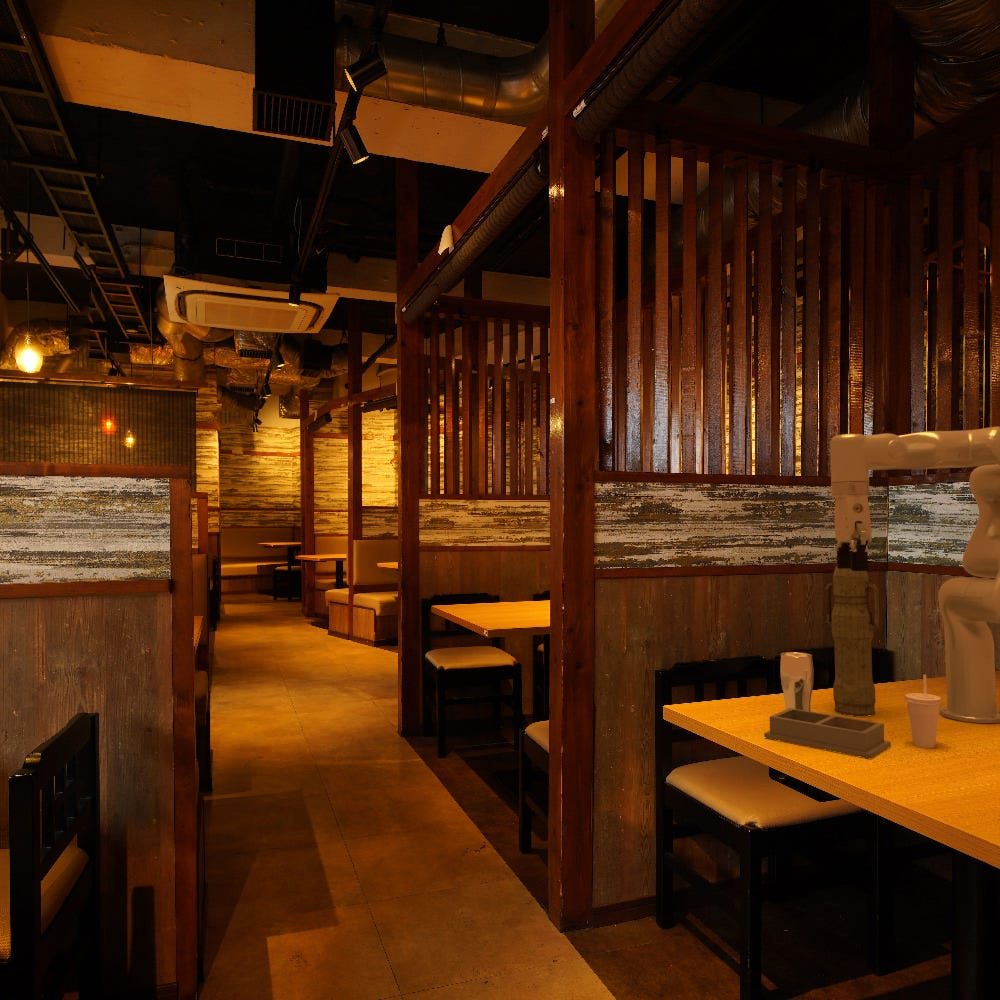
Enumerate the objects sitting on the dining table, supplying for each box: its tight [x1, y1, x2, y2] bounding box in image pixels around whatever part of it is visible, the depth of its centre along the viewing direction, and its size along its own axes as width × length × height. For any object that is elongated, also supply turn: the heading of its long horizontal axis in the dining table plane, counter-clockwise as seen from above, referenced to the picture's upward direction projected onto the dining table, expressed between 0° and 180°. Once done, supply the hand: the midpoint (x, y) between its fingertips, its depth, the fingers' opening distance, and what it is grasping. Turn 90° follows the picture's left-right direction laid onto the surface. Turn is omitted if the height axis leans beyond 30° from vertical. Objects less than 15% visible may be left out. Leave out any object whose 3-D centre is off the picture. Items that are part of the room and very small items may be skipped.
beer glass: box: [779, 651, 815, 711], centre depth 169 cm, size 7×7×15 cm
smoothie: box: [904, 674, 942, 749], centre depth 150 cm, size 6×6×14 cm
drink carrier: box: [763, 708, 892, 760], centre depth 152 cm, size 11×21×4 cm, turn 45°
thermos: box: [823, 564, 880, 717], centre depth 177 cm, size 9×12×35 cm
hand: (852, 569), depth 163 cm, fingers open, 9 cm apart
